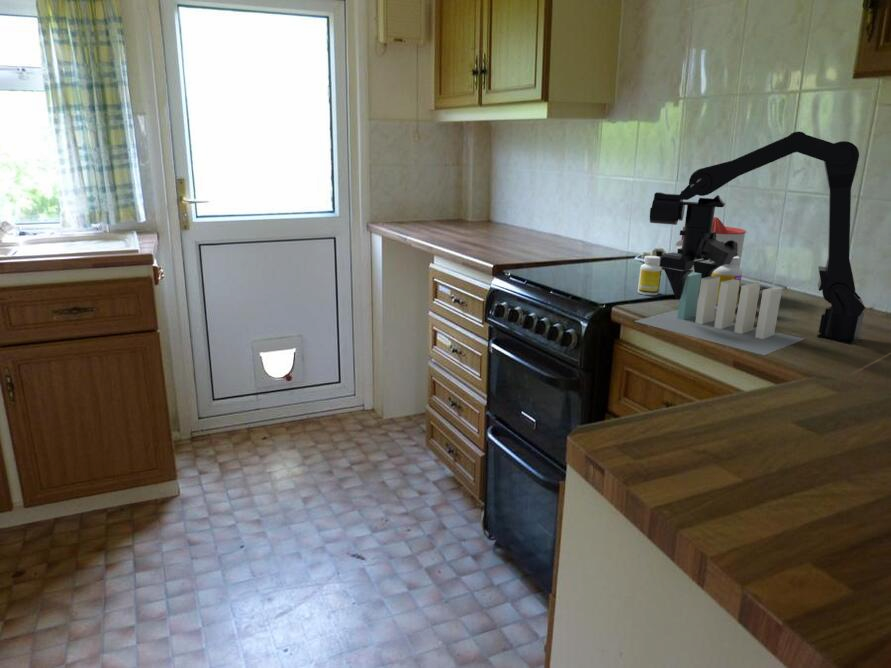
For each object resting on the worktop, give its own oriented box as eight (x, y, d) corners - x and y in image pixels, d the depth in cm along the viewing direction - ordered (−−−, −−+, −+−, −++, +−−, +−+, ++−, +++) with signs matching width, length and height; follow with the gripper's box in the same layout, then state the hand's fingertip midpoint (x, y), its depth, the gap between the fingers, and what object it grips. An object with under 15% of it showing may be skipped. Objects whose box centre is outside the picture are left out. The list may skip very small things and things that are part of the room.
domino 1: (713, 320, 148) (720, 277, 145) (701, 324, 145) (708, 279, 142) (706, 319, 149) (713, 275, 146) (695, 322, 146) (701, 278, 143)
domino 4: (773, 335, 138) (782, 288, 135) (762, 339, 135) (770, 291, 132) (766, 333, 139) (774, 286, 136) (755, 337, 136) (763, 290, 133)
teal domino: (677, 318, 149) (682, 274, 146) (689, 314, 152) (695, 272, 149) (683, 319, 148) (689, 276, 145) (695, 316, 151) (701, 273, 148)
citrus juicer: (659, 285, 185) (668, 213, 179) (718, 285, 187) (728, 213, 181) (684, 298, 170) (695, 220, 164) (748, 298, 172) (760, 221, 166)
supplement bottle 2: (732, 313, 156) (740, 259, 152) (703, 308, 160) (710, 256, 156) (739, 308, 161) (747, 256, 157) (711, 303, 165) (719, 252, 161)
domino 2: (732, 325, 145) (739, 280, 142) (721, 328, 142) (728, 283, 139) (725, 323, 146) (732, 279, 143) (714, 327, 143) (720, 282, 140)
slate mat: (804, 340, 136) (804, 338, 136) (763, 356, 125) (764, 355, 125) (678, 310, 157) (678, 309, 157) (633, 322, 146) (633, 321, 146)
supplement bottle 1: (661, 296, 172) (665, 258, 169) (640, 295, 172) (644, 258, 169) (655, 291, 177) (659, 255, 174) (635, 290, 177) (639, 254, 174)
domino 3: (752, 329, 141) (760, 284, 138) (741, 333, 138) (749, 287, 135) (745, 328, 142) (753, 283, 140) (734, 332, 139) (741, 285, 137)
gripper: (710, 234, 133) (700, 309, 137) (754, 228, 144) (743, 297, 149) (662, 227, 141) (653, 298, 145) (707, 222, 152) (698, 288, 157)
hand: (689, 295), depth 149 cm, fingers open, 9 cm apart
